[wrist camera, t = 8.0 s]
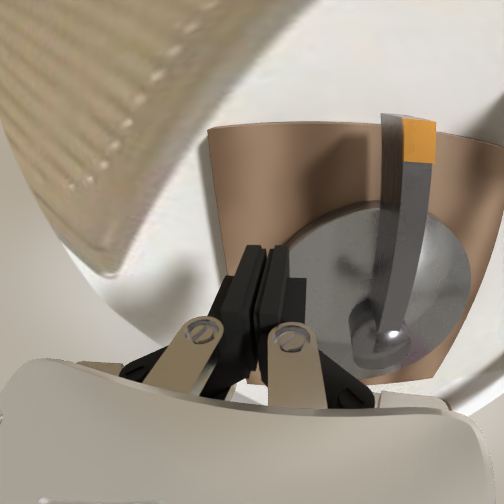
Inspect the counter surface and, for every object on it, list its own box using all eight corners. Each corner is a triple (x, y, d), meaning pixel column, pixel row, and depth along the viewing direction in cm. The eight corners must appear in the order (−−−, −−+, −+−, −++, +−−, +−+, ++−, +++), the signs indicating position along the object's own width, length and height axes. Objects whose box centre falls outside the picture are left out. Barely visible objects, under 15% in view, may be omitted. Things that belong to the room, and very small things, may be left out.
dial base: (499, 145, 15) (514, 151, 13) (429, 366, 29) (432, 378, 27) (215, 126, 19) (206, 130, 17) (249, 371, 33) (246, 384, 31)
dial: (430, 356, 25) (442, 398, 20) (273, 365, 28) (266, 412, 23) (488, 127, 13) (538, 145, 8) (242, 116, 16) (217, 124, 11)
